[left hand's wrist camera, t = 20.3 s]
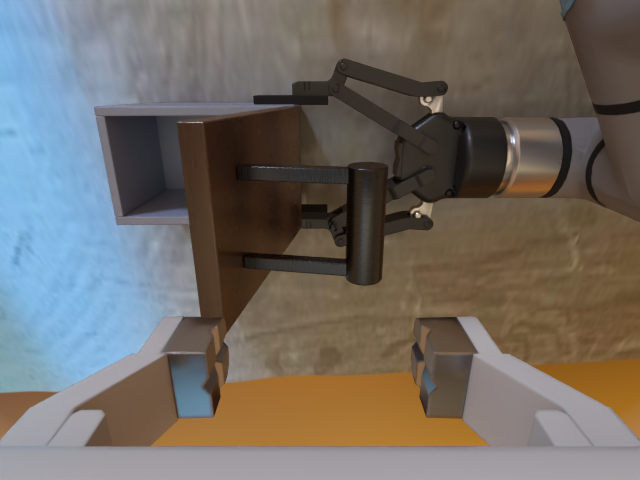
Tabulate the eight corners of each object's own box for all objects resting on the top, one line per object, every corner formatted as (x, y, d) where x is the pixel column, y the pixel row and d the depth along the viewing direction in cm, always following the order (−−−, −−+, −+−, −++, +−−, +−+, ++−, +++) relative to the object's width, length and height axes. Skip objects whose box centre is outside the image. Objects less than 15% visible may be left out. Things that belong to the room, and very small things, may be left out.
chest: (163, 194, 45) (116, 224, 35) (149, 102, 42) (93, 106, 31) (301, 193, 45) (295, 224, 35) (299, 102, 42) (292, 106, 31)
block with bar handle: (202, 333, 19) (376, 352, 18) (175, 121, 16) (389, 123, 14) (288, 226, 34) (386, 231, 33) (284, 106, 31) (393, 106, 29)
